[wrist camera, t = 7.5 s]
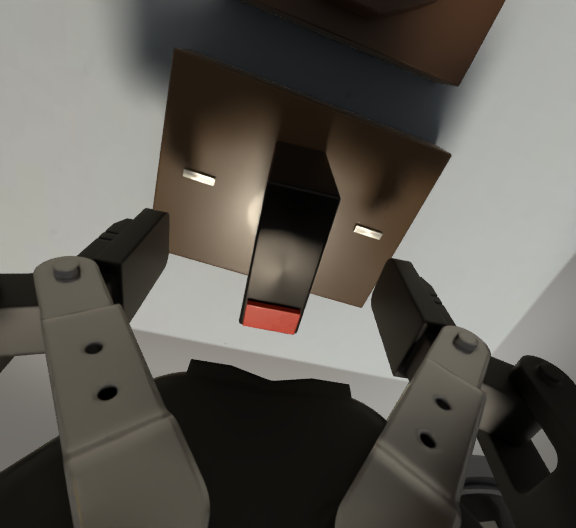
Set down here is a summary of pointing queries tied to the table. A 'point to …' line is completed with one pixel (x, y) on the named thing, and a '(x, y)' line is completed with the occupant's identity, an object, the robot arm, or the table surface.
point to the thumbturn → (289, 238)
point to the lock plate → (256, 163)
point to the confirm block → (399, 30)
